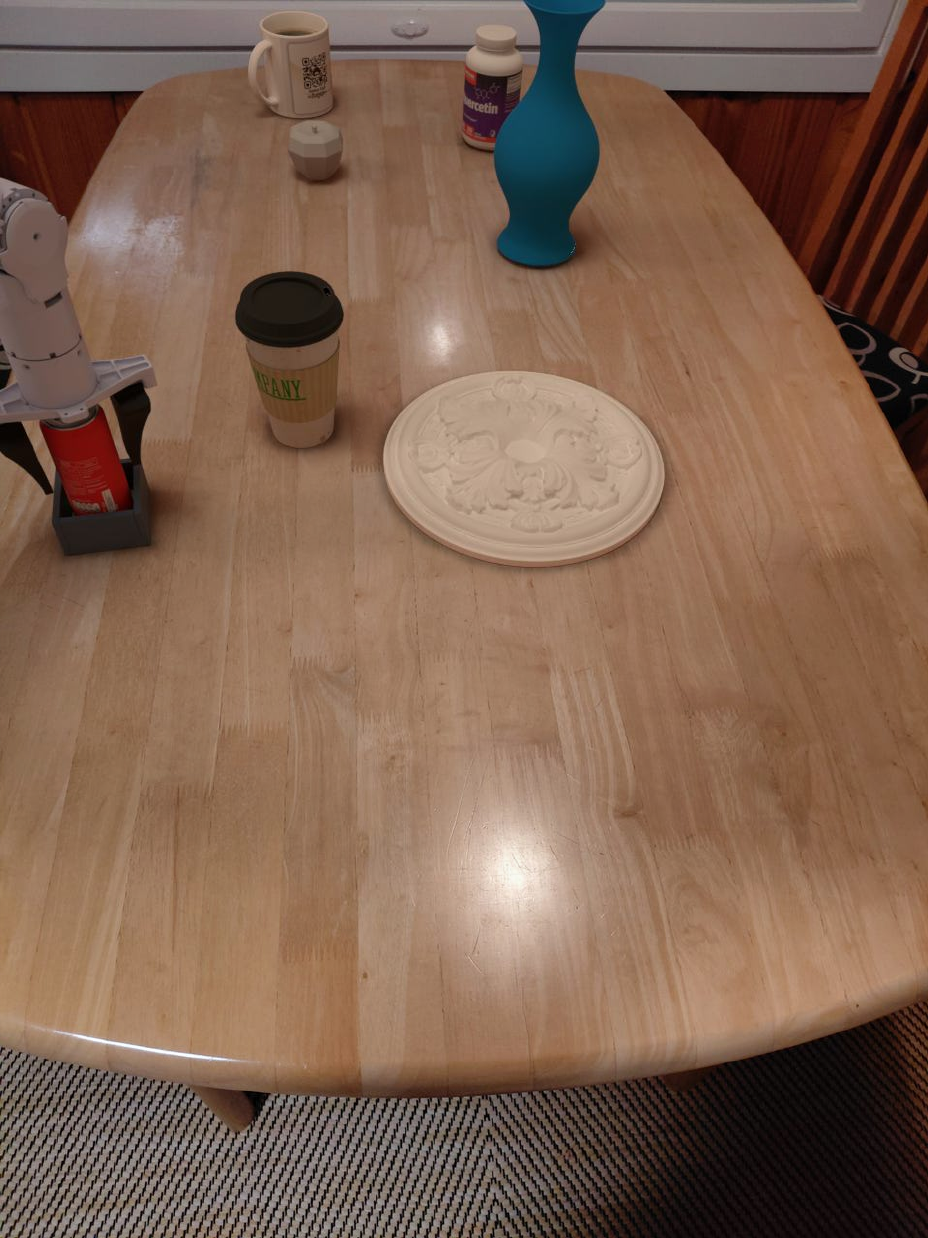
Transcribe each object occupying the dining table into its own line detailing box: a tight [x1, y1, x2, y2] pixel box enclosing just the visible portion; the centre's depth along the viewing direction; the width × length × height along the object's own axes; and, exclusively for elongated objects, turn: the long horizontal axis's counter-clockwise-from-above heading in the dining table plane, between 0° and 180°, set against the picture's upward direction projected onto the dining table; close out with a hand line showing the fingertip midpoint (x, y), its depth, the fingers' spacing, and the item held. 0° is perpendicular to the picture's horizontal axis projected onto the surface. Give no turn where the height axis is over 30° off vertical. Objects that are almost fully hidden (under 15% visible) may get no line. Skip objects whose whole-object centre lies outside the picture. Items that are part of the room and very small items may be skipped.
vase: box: [493, 0, 607, 268], centre depth 108 cm, size 12×13×28 cm
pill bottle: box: [461, 23, 524, 152], centre depth 132 cm, size 8×8×14 cm
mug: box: [247, 10, 334, 119], centre depth 137 cm, size 10×12×11 cm
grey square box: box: [51, 457, 152, 556], centre depth 84 cm, size 7×7×4 cm
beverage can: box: [38, 403, 133, 516], centre depth 81 cm, size 5×5×12 cm
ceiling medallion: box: [382, 370, 666, 568], centre depth 92 cm, size 28×28×3 cm
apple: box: [287, 119, 344, 181], centre depth 126 cm, size 8×8×7 cm
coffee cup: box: [234, 270, 345, 449], centre depth 89 cm, size 10×10×15 cm
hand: (91, 472), depth 81 cm, fingers open, 7 cm apart
